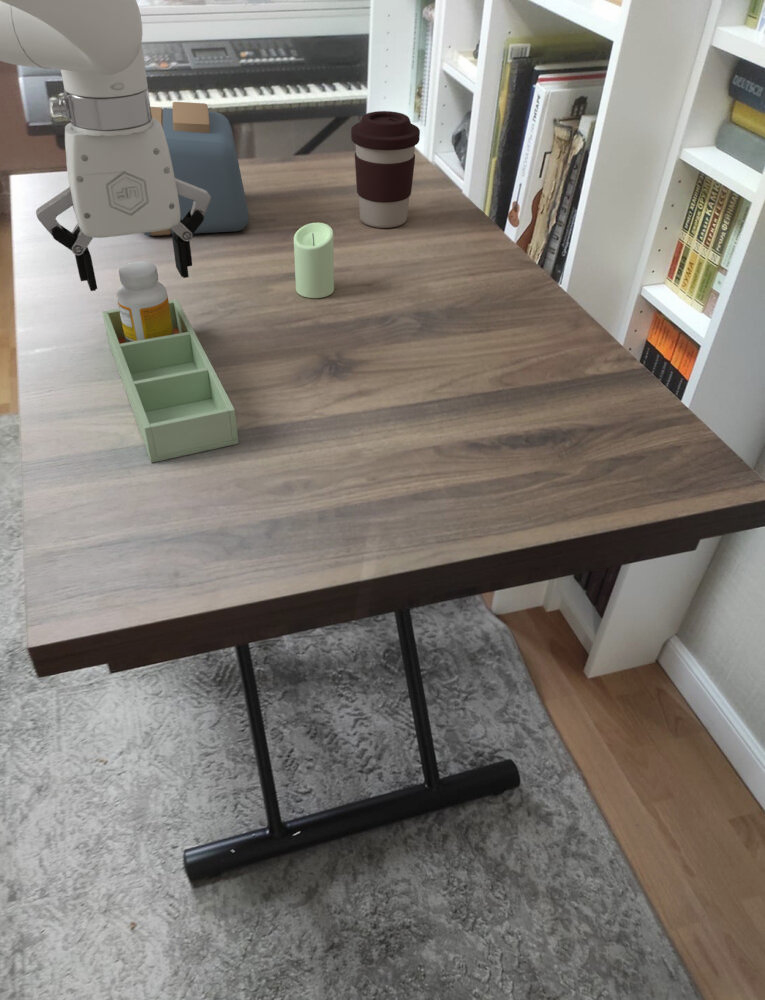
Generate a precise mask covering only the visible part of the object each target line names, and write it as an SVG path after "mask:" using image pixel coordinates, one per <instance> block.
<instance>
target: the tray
mask: <svg viewBox="0 0 765 1000" xmlns="http://www.w3.org/2000/svg"><path fill="white" fill-rule="evenodd" d="M168 302H169V308H170V315H171V321H172V327H173V333H174V334H173V335H168V336H162V337H156V338H150V339H145V340H139V341H133V342H127V343H126V341H125V336H124V331H123V326H122V321H121V316H120V310H119V308H116V309H111V310H103V311H102V312H101V315H102V319H103V323H104V328H105V333H106V338H107V343H108V345H109V348H110V351H111V354H112V356H113V359H114V362H115V365H116V368H117V371H118V374H119V376H120V379H121V382H122V385H123V388H124V391H125V393H126V396H127V400H128V402H129V405H130V407H131V410H132V413H133V417H134V418H135V421H136V425H137V427H138V430H139V433H140V436H141V438H142V442H143V444H144V447H145V450H146V452H147V455H148V458H149V461H150V463H151V464H152V463H157V462H162V461H166V460H171V459H175V458H180V457H185V456H189V455H193V454H198V453H202V452H206V451H212V450H215V449H221V448H225V447H230V446H234V445H238V444H239V436H238V435H239V433H238V425H237V417H236V415H237V414H236V409H235V407H234V405H233V404H232V401H231V400H230V397H229V395H228V394H227V391H226V390H225V388H224V386H223V384H222V382H221V380H220V379H219V376H218V374H217V372H216V371H215V369H214V366H213V365H212V362H211V361H210V359H209V357H208V355H207V353H206V351H205V349H204V348H203V346H202V343H201V342H200V340H199V337H198V336H197V334H196V332H195V330H194V328H193V326H192V324H191V323H190V320H189V319H188V316H187V315H186V313H185V311H184V309H183V307H182V304H181V303H180V301H179V300H178V299H173V300H168Z"/></svg>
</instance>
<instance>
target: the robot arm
mask: <svg viewBox="0 0 765 1000" xmlns="http://www.w3.org/2000/svg"><path fill="white" fill-rule="evenodd" d="M142 21H143V20H142V16H141V11H140V8H139V5H138V2H137V0H0V62H3V63H6V64H9V65H13V66H14V65H15V66H19V67H28V68H30V67H31V68H37V69H45V70H47V69H48V70H51V69H54V70H60V73H61V78H62V84H63V93H64V94H62V95H61V97H58V99H51V100H50V101H49V102H50V105H51V111H52V115H53V117H57V116H61V117H62V118H65V117H66V119H67V120H68V121H69V120H70V122H69V123H67V124H66V125H64V147H65V148H64V149H65V162H66V171H67V178H68V180H67V181H68V185H69V187H67V188H66V189H64V190H63V191H61V192H60V193H58V194H57V195H55V196H54V197H53V198H51V199H49V200H48V201H47V202H45V203H44V204H42V205H40V206H39V207H38V208H37V209H36V211H35V215H36V218H37V220H38V221H39V223H41V225H42V226H43V227H44V228H45V229H46V231H47V232H48V233H49V234H50V235H51V237H52V238H53V239H54V240H55V241H57V242H58V243H59V244H61V245H63V246H64V247H65V248H67V249H68V250H70V251H71V252H72V253H73V255H74V257H75V261H76V267H77V271H78V276H79V279H80V282H87V285H88V287H89V288H88V289H89V290H90V292H96V291H97V290H98V285H97V279H96V274H95V269H94V265H93V264H94V263H93V259H92V255H91V253H90V249H89V247H88V246H90V243H91V242H92V240H94V239H102V238H114V237H120V236H129V235H130V236H131V235H138V234H143V233H146V232H154V231H161V230H167V229H171V230H173V231H174V232H173V235H172V234H171V239H172V240H171V241H172V247H173V255H174V261H175V268H176V270H177V271H178V273H179V275H180V277H181V278H183V279H186V278H189V267H193V259H192V250H191V242H190V241H191V240H192V239H193V237H194V236H193V235H194V234H195V233H194V232H195V231H196V230H197V228H198V227H199V226H200V225H201V223H202V222H203V220H204V215H205V213H206V211H207V208H208V206H209V203H210V200H211V196H210V195H209V193H208V192H207V191H206V190H204V189H201V188H199V187H196V186H194V185H191V184H189V183H186V182H184V181H181V180H179V179H176V178H175V176H174V171H173V166H172V161H171V157H170V153H169V148H168V144H167V141H166V137H165V134H164V131H163V128H162V125H161V123H160V122H158V121H157V120H156V119H154V118H152V115H151V108H150V107H151V102H150V101H151V100H150V94H149V87H148V79H147V78H148V77H147V73H146V71H147V70H146V64H145V57H144V49H143V48H144V47H143V43H142V42H143V22H142ZM178 195H180V196H183V197H185V198H188V199H191V200H193V206H192V208H191V209H190V211H189V212H188V213H187V214H186V216H185V217H184V218H183V219H180V205H179V199H178ZM173 204H174V205H173ZM71 207H72V208H73V212H74V216H75V218H76V219H75V220H76V222H77V223H76V224H75V227H74V228H73V229H72V231H70V229H68V228H66V227H64V226H63V225H62V224H61V223H59V221H58V220H57V217H58V216H59V215H61V214H63V213H64V212H66V211H67V210H68V209H70V208H71ZM193 233H194V234H193ZM93 238H94V239H93Z"/></svg>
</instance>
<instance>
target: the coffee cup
mask: <svg viewBox="0 0 765 1000" xmlns="http://www.w3.org/2000/svg"><path fill="white" fill-rule="evenodd" d="M350 131H351V132H350V139H351V141H352V143H354V144H355V152H354V168H355V180H356V193H357V195H358V206H359V218H360V221H361V222H362V223H363V224H364V225H367V226H369V227H373V228H378V229H392V228H397V227H400V226H402V225H405V223H406V222H407V219H408V214H409V205H410V203H409V202H410V196H411V195H412V189H413V180H414V171H415V162H416V154H415V148H416V146H417V145H418V144H419V142H420V139H421V137H420V136H421V129H420V128H419V127H418V126H417V125H415V124H414V123H411V119H410V117H409V116H408V115H407V114H404V113H401V112H399V111H390V110H377V111H371V112H368V113H367V112H366V113H365V114H364V115H362V116H361V119H360V121H359V122H357V123H355V124H353V126H352V127H351V128H350Z"/></svg>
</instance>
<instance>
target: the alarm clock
mask: <svg viewBox="0 0 765 1000" xmlns="http://www.w3.org/2000/svg"><path fill="white" fill-rule="evenodd" d="M150 108H151V115H152V118H154V119H156V120H157V121H158V122H160V123H161V125H162V128H163V131H164V134H165V137H166V141H167V144H168V148H169V153H170V157H171V161H172V166H173V171H174V176H175V178H176V179H179V180H181V181H184V182H186V183H189V184H191V185H194V186H196V187H199V188H201V189H204V190H206V191H207V192H208V193H209V195H210V196H211V200H210V203H209V206H208V208H207V211H206V213H205V215H204V220H203V222H202V223H201V225H200V226H199V227H198V228H197V230H196V231H195V232H194V233H193V235H194V234H210V233H211V234H212V233H230V232H232V233H233V232H239V231H242V230H244V229H245V228H246V226H247V225H248V224H249V217H250V214H249V209H248V203H247V200H246V199H247V198H246V194H245V189H244V184H243V178H242V174H241V168H240V163H239V157H238V153H237V148H236V143H235V142H236V141H235V138H234V133H233V129H232V126H231V123H230V120H229V119H228V118H227V117H226V116H225V115H224V114H222V113H220V112H216V111H209V106H208V104H207V103H204V102H187V101H173V102H172V108H171V107H161V106H159V107H158V106H150ZM178 199H179V205H180V219H183V218H184V217H185V216H186V214H187V213H188V212H189V211H190V209H191V208H192V206H193V200H191V199H188V198H185V197H183V196H180V195H178ZM173 205H174V204H173ZM173 232H174V231H173V230H171V229H167V230H161V231H154V232H146V233H142V234H143V235H144V236H151V237H152V236H153V237H154V236H172V235H173Z"/></svg>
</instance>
